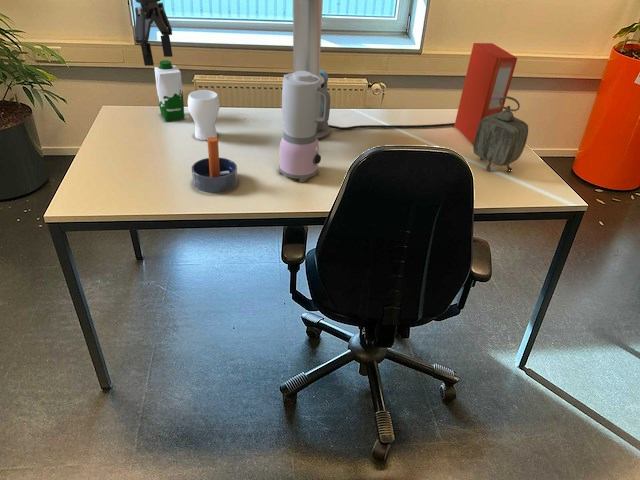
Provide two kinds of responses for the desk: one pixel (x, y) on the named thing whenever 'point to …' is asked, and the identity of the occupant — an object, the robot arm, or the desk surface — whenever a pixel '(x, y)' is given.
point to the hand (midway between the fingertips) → (159, 61)
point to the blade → (214, 158)
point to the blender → (301, 124)
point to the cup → (204, 112)
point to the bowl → (214, 183)
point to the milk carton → (169, 91)
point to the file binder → (484, 86)
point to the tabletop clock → (501, 137)
